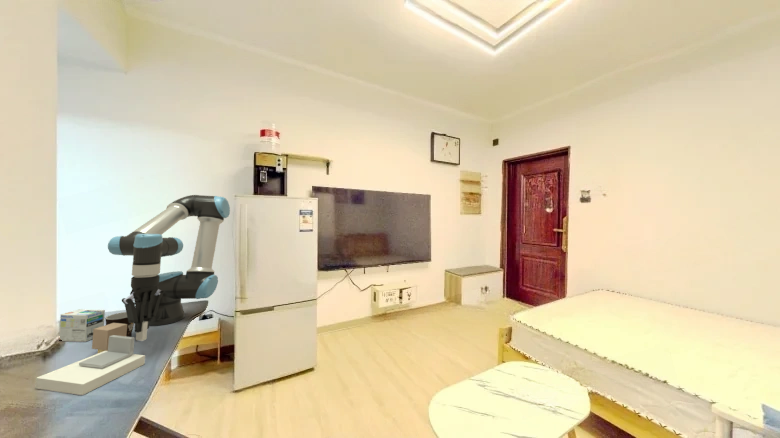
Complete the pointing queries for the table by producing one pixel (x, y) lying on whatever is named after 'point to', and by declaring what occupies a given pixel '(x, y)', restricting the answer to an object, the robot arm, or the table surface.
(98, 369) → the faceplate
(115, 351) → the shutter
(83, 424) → the table surface
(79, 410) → the table surface
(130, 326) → the coffee mug
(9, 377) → the table surface
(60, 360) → the table surface
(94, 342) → the plug
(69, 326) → the light bulb box
